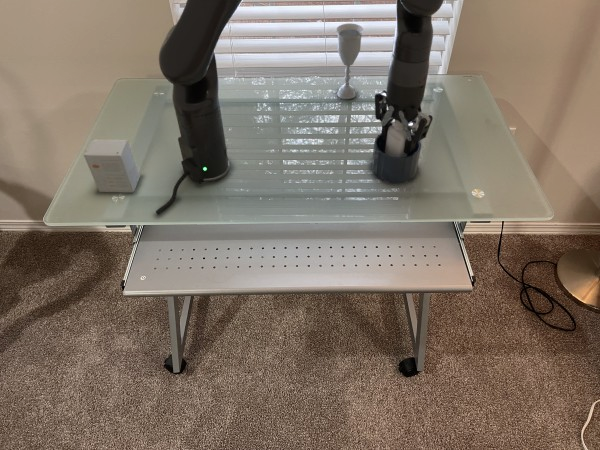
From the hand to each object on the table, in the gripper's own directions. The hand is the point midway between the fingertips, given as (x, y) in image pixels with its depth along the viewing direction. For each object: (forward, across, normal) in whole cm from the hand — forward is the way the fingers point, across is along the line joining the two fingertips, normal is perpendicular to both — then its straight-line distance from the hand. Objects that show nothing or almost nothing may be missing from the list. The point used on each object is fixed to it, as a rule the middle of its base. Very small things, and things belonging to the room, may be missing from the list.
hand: (397, 145), depth 111 cm
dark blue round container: (+7, 0, 0) cm, 7 cm away
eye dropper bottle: (+4, 0, 0) cm, 4 cm away
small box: (+7, -37, -50) cm, 62 cm away
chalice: (+7, -30, +14) cm, 34 cm away
